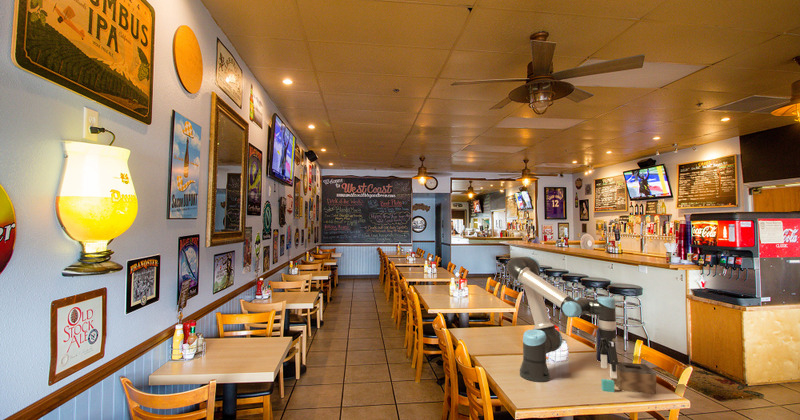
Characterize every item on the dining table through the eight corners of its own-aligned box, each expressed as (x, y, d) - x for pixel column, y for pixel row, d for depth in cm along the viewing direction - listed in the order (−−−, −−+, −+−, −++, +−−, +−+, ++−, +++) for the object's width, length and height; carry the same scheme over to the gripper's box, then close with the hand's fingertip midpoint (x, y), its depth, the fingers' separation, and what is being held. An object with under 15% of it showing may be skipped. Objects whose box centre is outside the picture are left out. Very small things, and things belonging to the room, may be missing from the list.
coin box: (619, 390, 180) (619, 369, 180) (611, 380, 192) (611, 361, 192) (656, 394, 176) (656, 373, 177) (645, 384, 188) (645, 364, 189)
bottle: (613, 360, 223) (613, 310, 225) (612, 364, 215) (612, 313, 217) (596, 357, 228) (596, 308, 230) (595, 361, 220) (594, 311, 222)
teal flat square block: (603, 391, 179) (603, 380, 179) (601, 389, 181) (601, 378, 181) (614, 392, 178) (614, 381, 178) (612, 390, 180) (612, 380, 180)
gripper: (625, 335, 168) (627, 383, 166) (607, 323, 192) (608, 364, 191) (607, 334, 170) (608, 381, 168) (591, 322, 194) (592, 363, 192)
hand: (608, 372), depth 179 cm, fingers open, 13 cm apart
